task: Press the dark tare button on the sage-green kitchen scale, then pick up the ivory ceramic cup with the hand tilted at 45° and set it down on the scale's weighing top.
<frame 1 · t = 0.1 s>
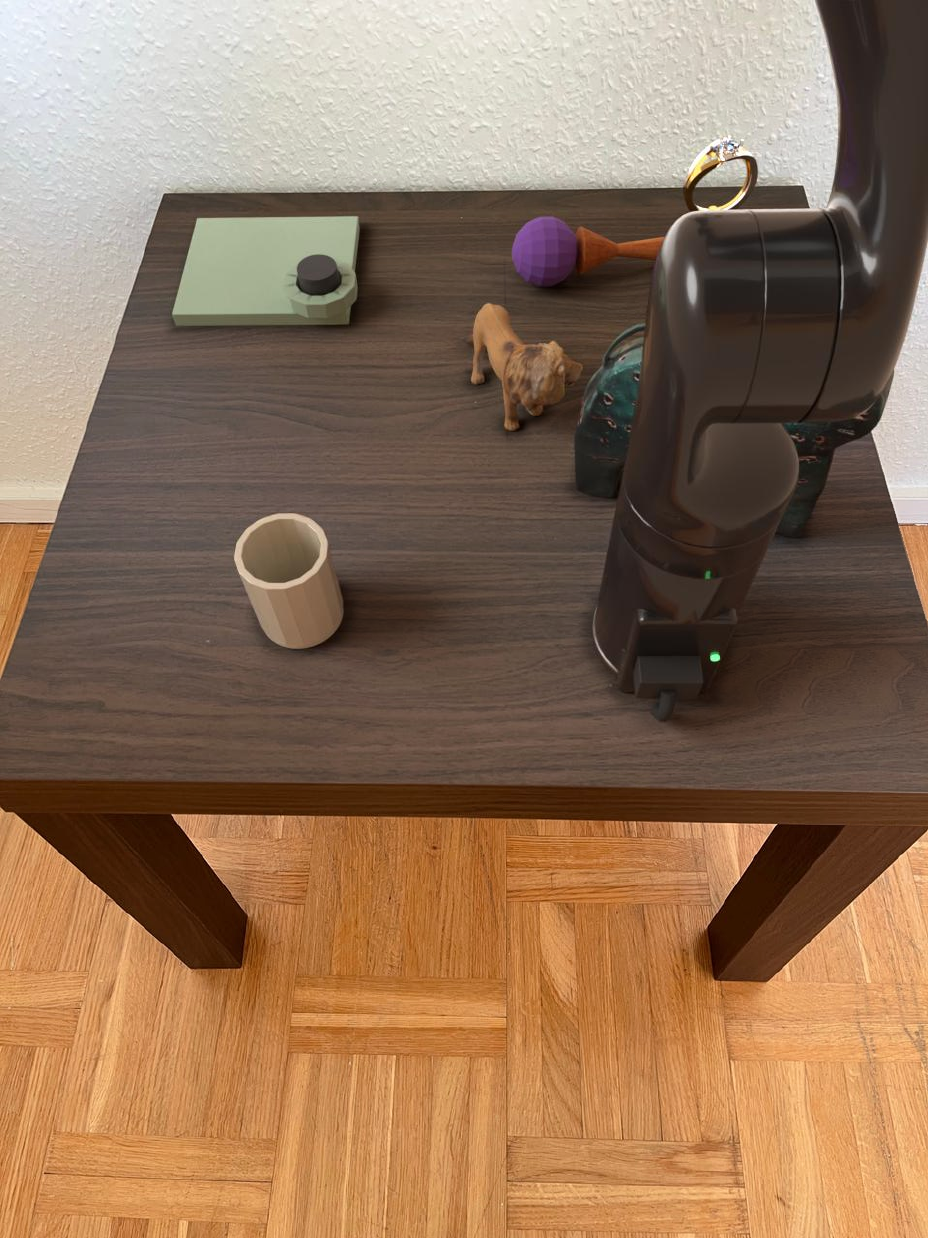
scale: (271, 275, 87), on the table
cup: (302, 612, 68), on the table
tare button: (318, 275, 82), point 4 cm above the table, slide at 0.1 cm
lion figurine: (513, 397, 79), on the table
ceramic cat: (692, 506, 72), on the table
kendama: (616, 273, 87), on the table
ring: (711, 219, 91), on the table
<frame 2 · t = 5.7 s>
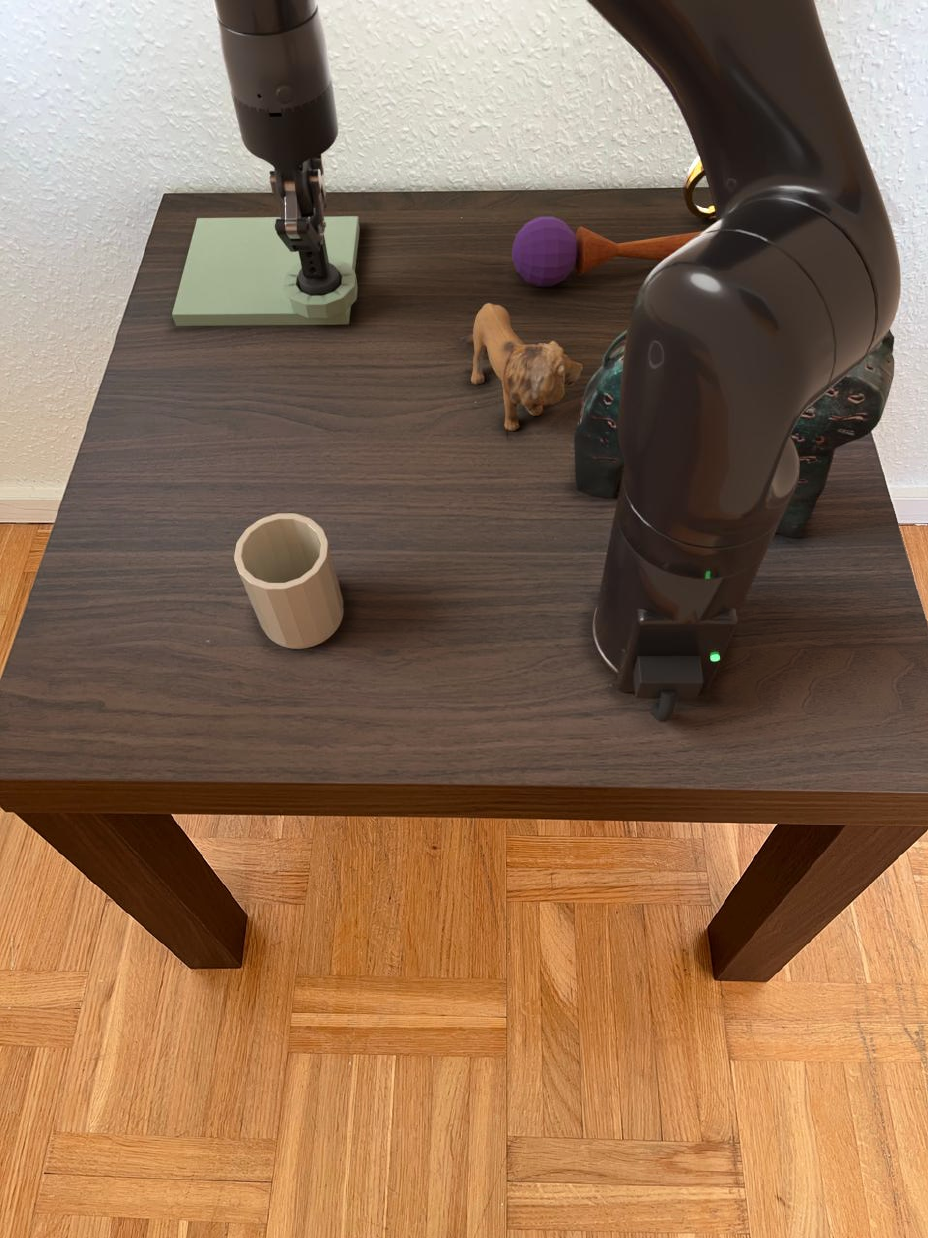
hand: (316, 273, 82), 4 cm above the table, tool pointing down, fingers closed
tare button: (319, 281, 83), point 3 cm above the table, slide at -0.6 cm, touching gripper
everything else where it was.
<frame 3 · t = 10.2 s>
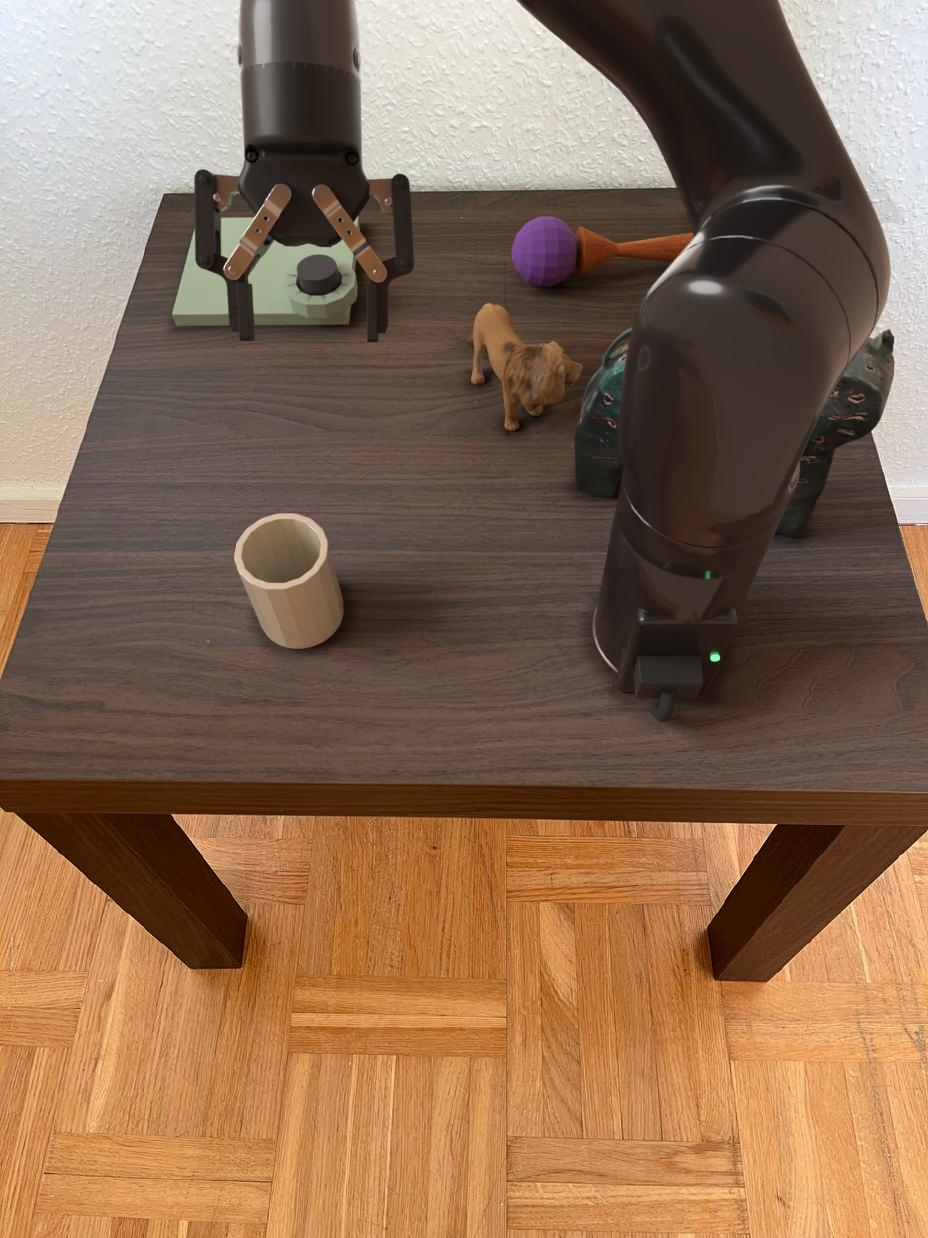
hand: (310, 341, 62), 14 cm above the table, tool tilted 40°, fingers open, 8 cm apart
tare button: (318, 275, 82), point 4 cm above the table, slide at 0.1 cm
everything else where it was.
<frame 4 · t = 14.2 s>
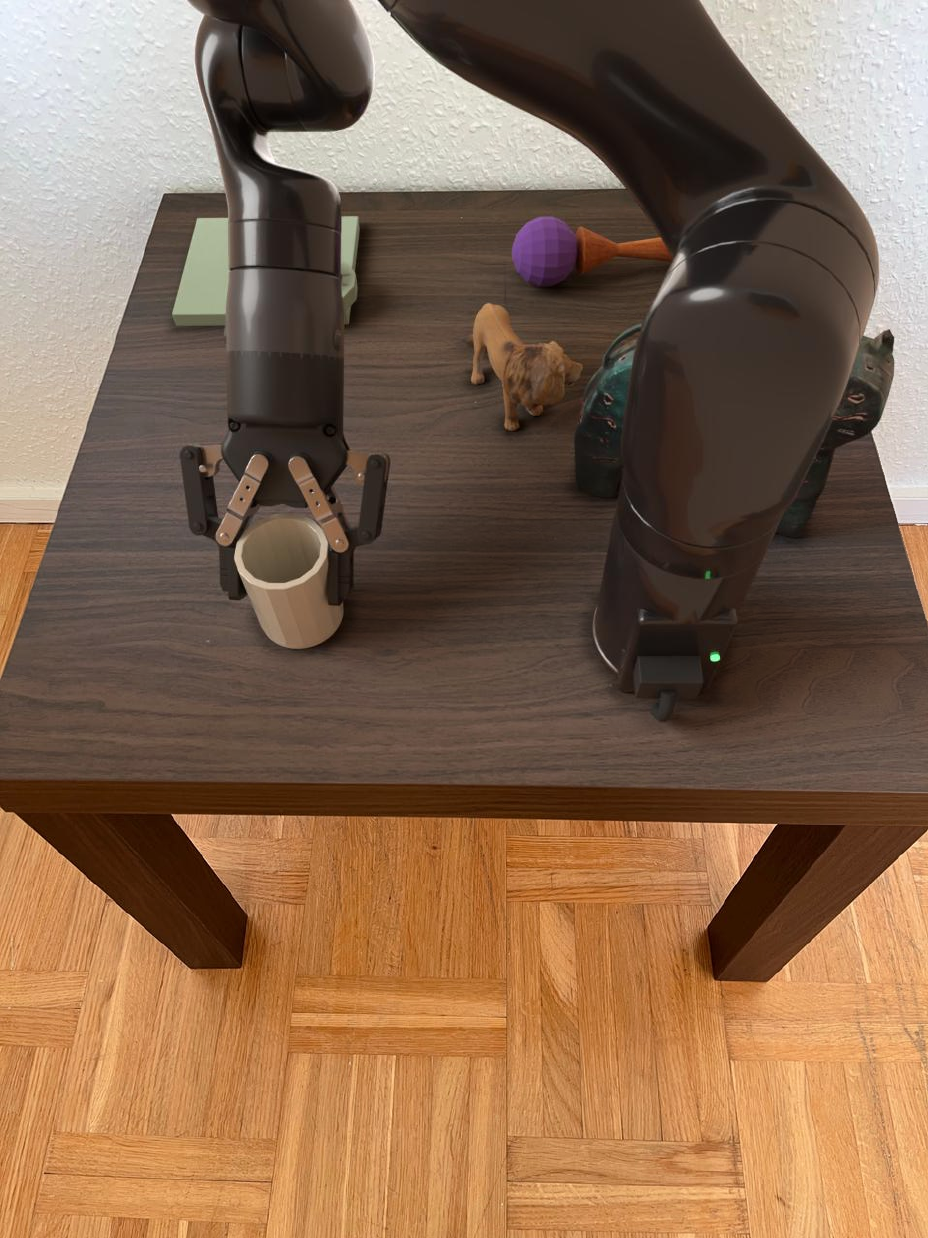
hand: (286, 600, 63), 4 cm above the table, tool tilted 45°, fingers closed on cup, 6 cm apart
cup: (302, 612, 68), on the table, touching gripper
everything else where it was.
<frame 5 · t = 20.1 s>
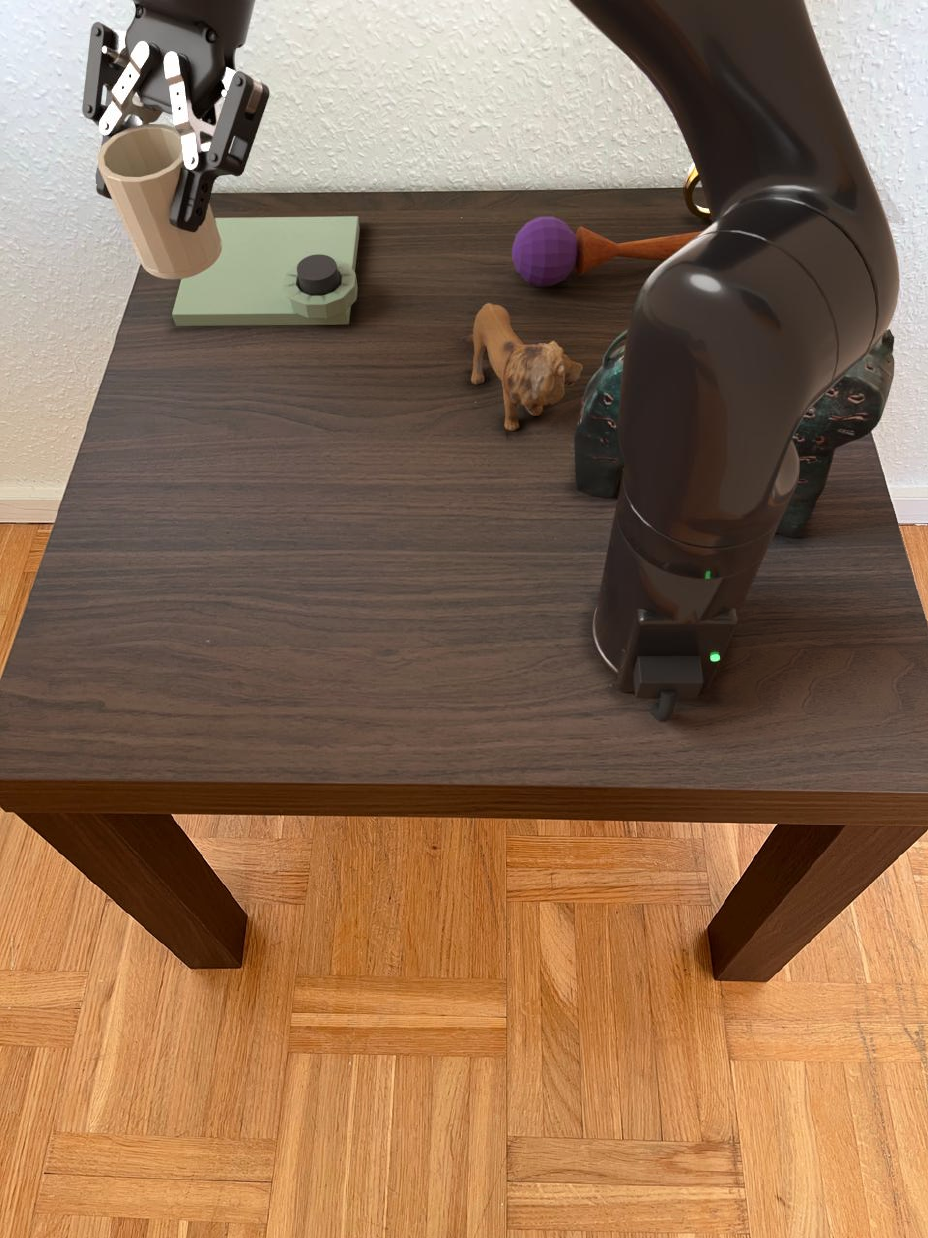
hand: (145, 212, 64), 18 cm above the table, tool tilted 40°, fingers closed on cup, 6 cm apart
cup: (181, 251, 68), point 14 cm above the table, touching gripper
everything else where it was.
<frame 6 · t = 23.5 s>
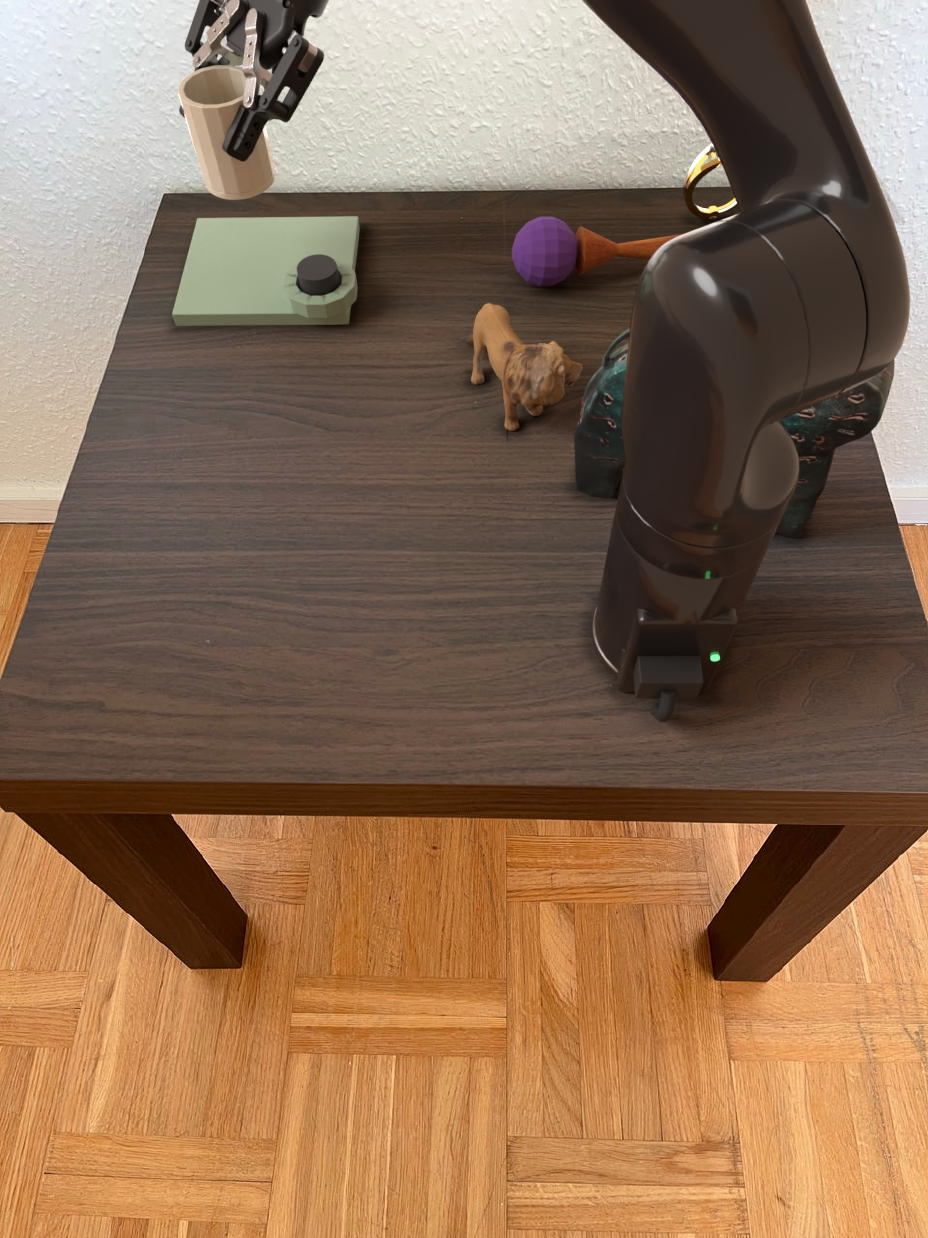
hand: (211, 137, 76), 14 cm above the table, tool tilted 45°, fingers closed on cup, 6 cm apart
cup: (240, 178, 80), point 9 cm above the table, touching gripper
everything else where it was.
when the fingers open (6 cm above the table, at t = 26.4 s): cup stays where it is, resting on scale.
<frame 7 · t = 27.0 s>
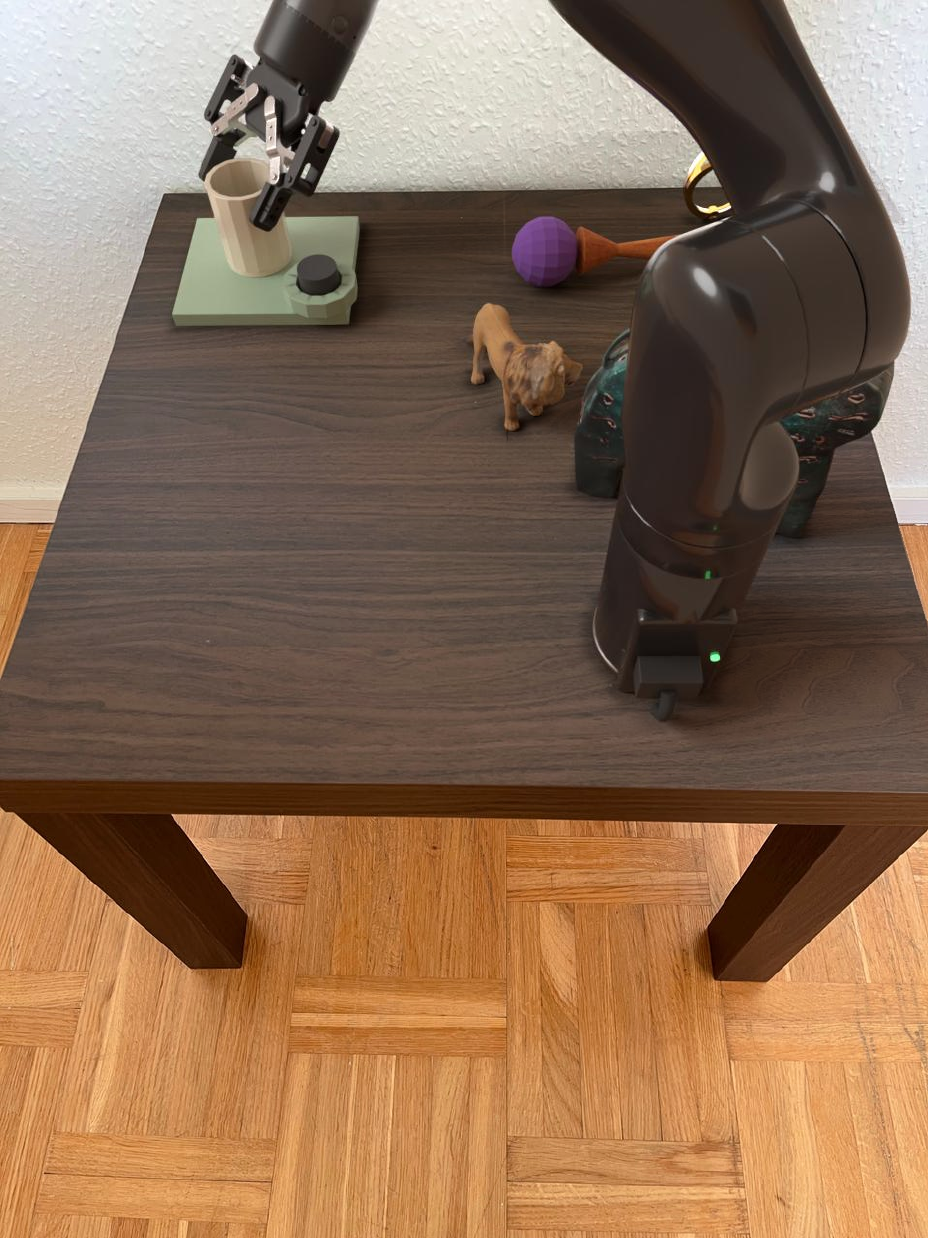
hand: (232, 204, 81), 7 cm above the table, tool tilted 45°, fingers open, 8 cm apart
cup: (259, 256, 87), point 1 cm above the table, touching scale
everything else where it was.
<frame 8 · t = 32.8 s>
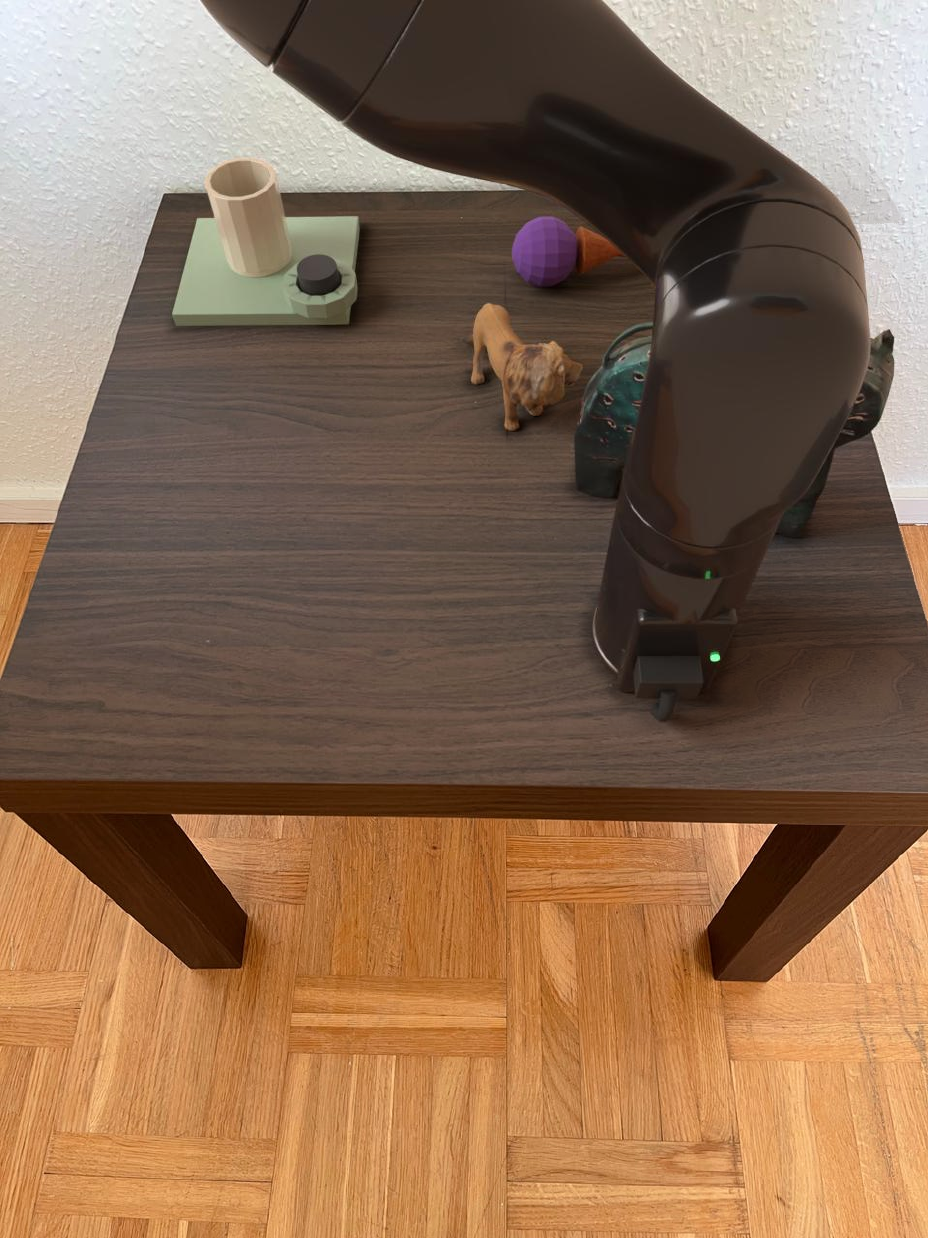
nothing on the table moved.
at the end: tare button pushed in 0.9 cm at the most during the clip, back to where it started at the end; cup inside the target area on the scale (0.0 cm from its centre), point 1.4 cm above the scale's base; cup touching scale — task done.
